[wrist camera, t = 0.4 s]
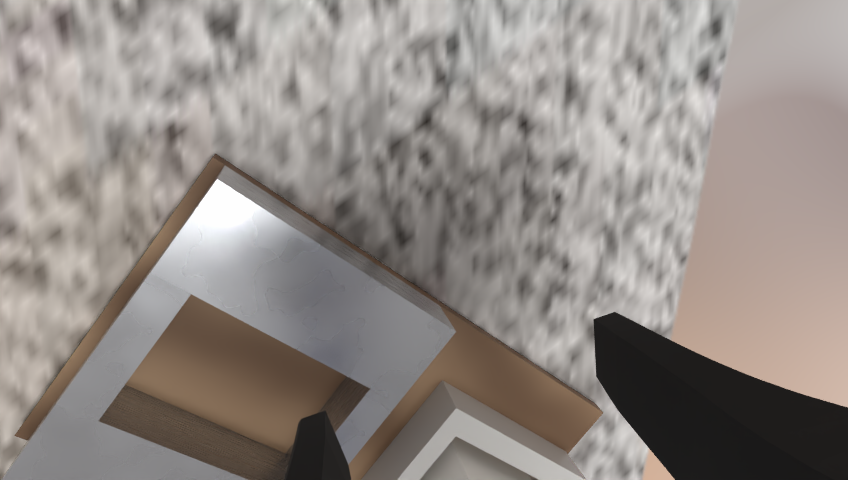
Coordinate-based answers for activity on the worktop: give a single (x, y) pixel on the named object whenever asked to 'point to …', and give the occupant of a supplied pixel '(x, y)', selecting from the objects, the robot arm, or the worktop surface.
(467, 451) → the plug
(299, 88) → the worktop surface
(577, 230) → the worktop surface
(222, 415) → the panel board
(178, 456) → the port
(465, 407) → the grey rectangular frame
